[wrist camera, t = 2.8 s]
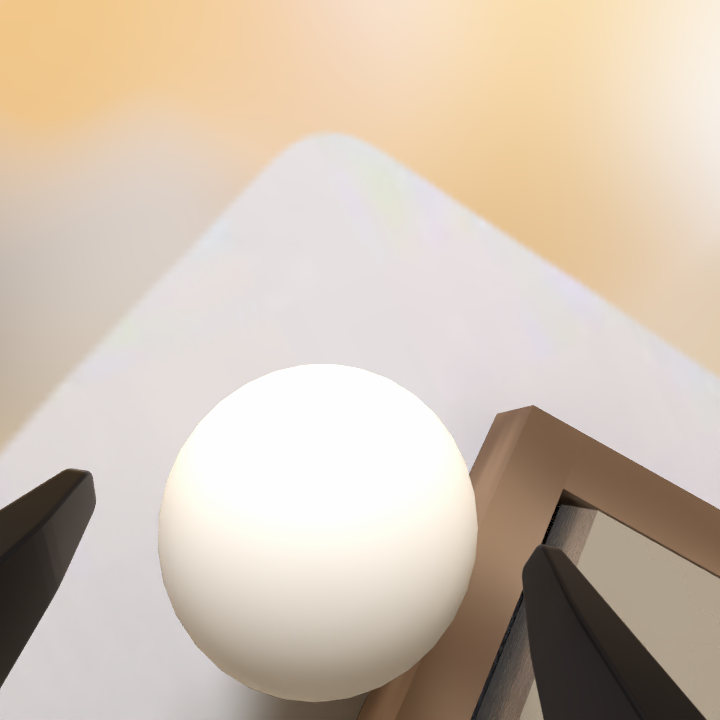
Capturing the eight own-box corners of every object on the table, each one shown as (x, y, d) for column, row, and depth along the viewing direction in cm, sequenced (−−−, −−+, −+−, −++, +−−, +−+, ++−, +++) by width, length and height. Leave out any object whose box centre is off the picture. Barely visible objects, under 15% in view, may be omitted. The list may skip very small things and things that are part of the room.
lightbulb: (361, 385, 18) (448, 279, 8) (418, 540, 17) (608, 670, 7) (205, 439, 17) (48, 404, 6) (257, 608, 16) (171, 899, 5)
